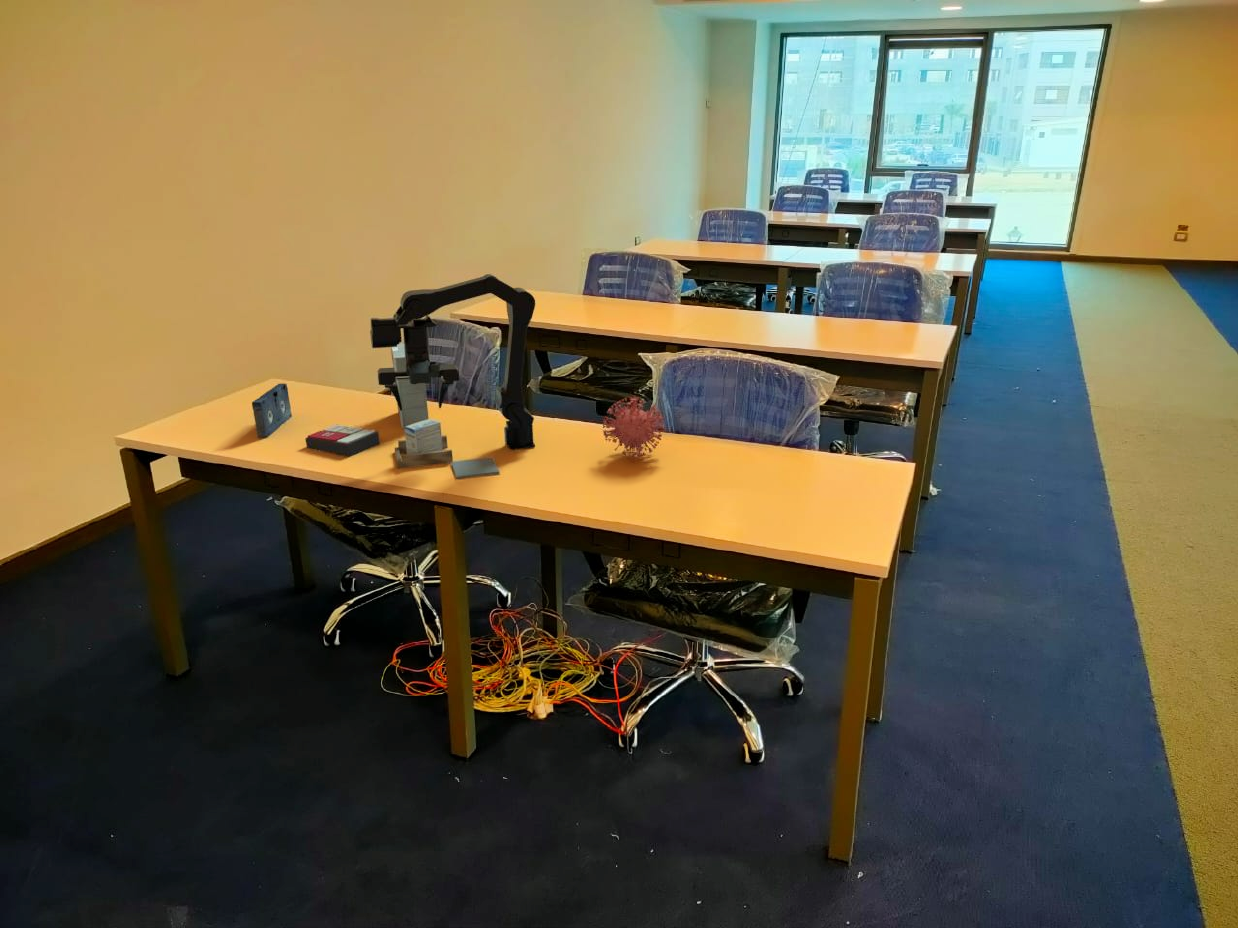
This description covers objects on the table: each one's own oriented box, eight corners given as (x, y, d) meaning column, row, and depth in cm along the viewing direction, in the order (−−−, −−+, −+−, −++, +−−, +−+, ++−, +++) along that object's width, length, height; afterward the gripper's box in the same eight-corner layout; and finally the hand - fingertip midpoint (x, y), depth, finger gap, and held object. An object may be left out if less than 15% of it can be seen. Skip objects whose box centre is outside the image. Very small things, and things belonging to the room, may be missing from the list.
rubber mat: (492, 459, 211) (492, 457, 210) (499, 473, 202) (499, 471, 202) (451, 464, 208) (451, 461, 208) (456, 478, 199) (456, 476, 199)
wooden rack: (447, 446, 220) (446, 435, 219) (452, 462, 209) (451, 450, 208) (395, 452, 216) (393, 440, 215) (398, 468, 205) (396, 456, 204)
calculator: (335, 423, 228) (378, 428, 221) (338, 438, 229) (380, 444, 222) (303, 435, 219) (346, 441, 212) (306, 451, 220) (349, 458, 213)
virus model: (591, 456, 212) (589, 398, 206) (633, 441, 222) (632, 386, 216) (634, 471, 202) (634, 411, 197) (676, 455, 212) (677, 397, 206)
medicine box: (432, 450, 217) (429, 418, 214) (443, 454, 214) (440, 421, 211) (406, 459, 211) (403, 426, 208) (418, 463, 209) (415, 429, 205)
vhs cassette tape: (283, 416, 244) (278, 383, 241) (294, 416, 244) (288, 383, 240) (255, 438, 227) (249, 402, 224) (266, 438, 227) (260, 402, 223)
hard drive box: (397, 412, 247) (390, 344, 240) (424, 409, 249) (418, 342, 242) (401, 428, 233) (393, 357, 226) (430, 425, 235) (423, 354, 228)
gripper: (376, 355, 193) (382, 421, 198) (460, 351, 198) (463, 416, 204) (375, 344, 203) (380, 408, 208) (455, 341, 208) (458, 403, 214)
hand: (420, 409), depth 208 cm, fingers open, 9 cm apart
